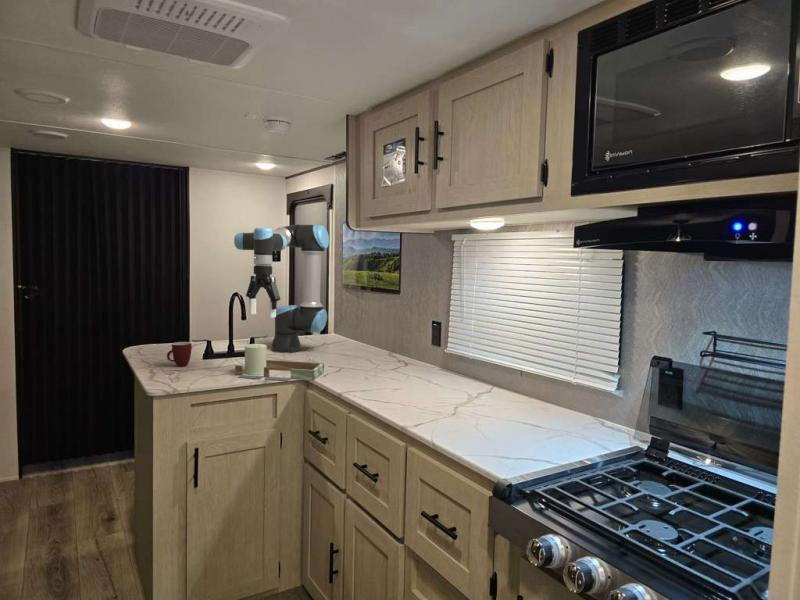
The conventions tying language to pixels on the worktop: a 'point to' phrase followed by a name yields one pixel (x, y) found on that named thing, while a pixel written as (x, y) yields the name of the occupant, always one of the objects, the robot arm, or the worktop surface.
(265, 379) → the mats
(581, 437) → the worktop surface
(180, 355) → the mug
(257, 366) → the can
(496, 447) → the worktop surface
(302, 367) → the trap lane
